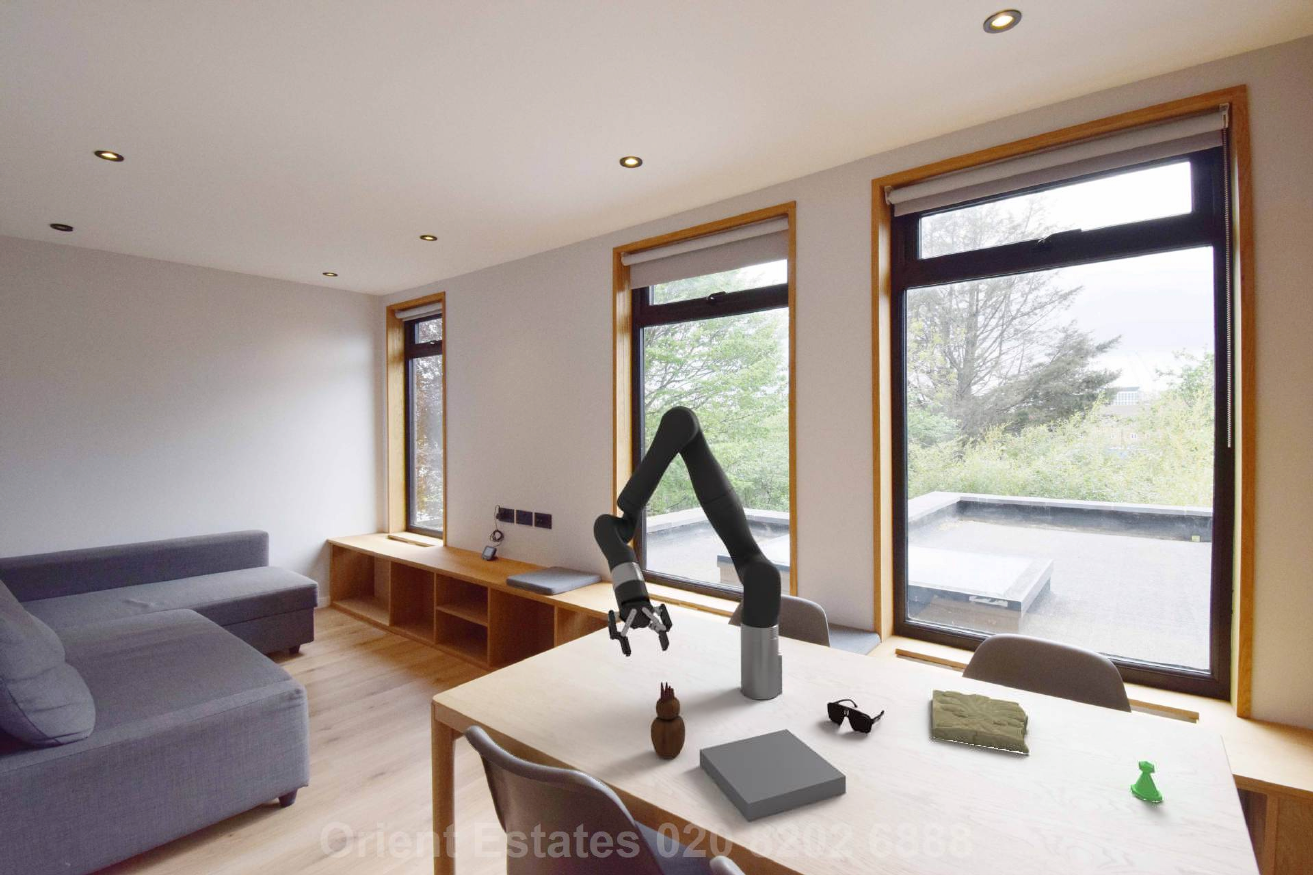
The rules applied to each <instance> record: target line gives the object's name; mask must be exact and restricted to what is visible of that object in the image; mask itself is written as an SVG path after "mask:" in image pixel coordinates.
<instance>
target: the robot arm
mask: <svg viewBox="0 0 1313 875" xmlns="http://www.w3.org/2000/svg"><path fill="white" fill-rule="evenodd" d="M677 455H680V456H681V458H682V460H683V462H684V465H685V467H686V470H687V473H688V476H689V479H690V482H691V485H692V489H693V491H694V494H695V497H696V498H697V501H698V503H699V505H700V507H701V508H702V511H703V513H704V515H705V516H706V518H707V520H708V521H709V524H710V525H711V527H712V528H713V530H714V531H715V533H716V534H717V536H718V537H719V538H720V540H721V541H722V543H723V545H724V547H725V548H726V550H727V552H728V554H729V556H730V559H731V562H732V564H733V566H734V570H735V572H736V575H737V577H738V580H739V583H740V584H741V585H742V586H743V587H742V590H743V591H742V592H743V600H742V602H743V603H742V608H741V611H740V690H741V691H740V692H741V693H742V694H743V695H744V696H746V697H748V698H752V699H754V700H755V699H756V700H771V699H774V698H776V697H777V696H778V695H780V694H782V693H783V655H782V653H780V652H779V650H780V649H779V646H780V645H779V618H780V617H779V616H780V614H781V606H782V576H781V572H780V570H779V568H778V567H777V566H776V565H775V564H774V563H773V562H772V561H771V560H770V559H768V557H767V556H766V555H765V553H763V551H762V549H761V548H760V546H759V545H758V543H757V541H756V540H755V538H754V536H753V535H752V533H751V530H750V527H749V523H748V519H747V517H746V513H745V510H744V507H743V504H742V502H741V500H740V498H739V496H738V494H737V492H736V490H735V488H734V486H733V484H732V482H731V481H730V480H729V478H728V475H727V474H726V472H725V471H724V469H723V467H722V466H721V464H720V463H719V461H718V459H717V458H716V457H715V455H714V454H713V451H712V450H711V448H710V446H709V444H708V442H707V439H706V437H705V434H704V432H703V429H702V427H701V424H700V421H699V418H698V416H697V414H696V413H695V412H694V411H693V410H692V409H691V408H689V407H687V406H683V405H679V406H674V407H671V408H670V409H668V410H667V411H665V412H664V413H663V415H662V416H661V418H660V421H659V425H658V427H657V430H656V433H655V435H654V437H653V440H652V442H651V444H650V446H649V448H648V450H647V451H646V453H645V455H644V457H643V458H642V460H641V462H640V463H639V464H638V465H637V467H636V469H635V470H634V471H633V473H632V475H631V476H630V477H629V479H628V481H627V482H626V483H625V485H624V486H623V488H622V490H621V491H620V494H619V495H618V497H617V499H616V506H617V507H618V509H619V510H620V511H621V512H623V513H622V516H621V517H620V516H616V515H613V514H610V513H603V514H600V515H599V516H598V517H596V519H595V521H594V522H593V523H594V524H593V528H592V530H593V531H592V532H593V536H594V539H595V542H596V543H597V545H598V547H599V549H600V551H601V553H602V555H603V556H604V557H605V559H606V560H607V564H608V568H609V573H610V578H611V579H610V580H611V584H612V589H613V590H612V591H613V593H614V597H615V600H616V605H617V609H618V611H614V610H613V609H610V610H609V609H608V610H609V611H608V612H607V615H606V622H607V628H608V635H609V639H610V640H612V641H613V640H616V641H618V642H619V644H620V648H621V653H622V654H623V655H625V657H626V658H627V657H630V656H631V654H632V647H631V645H630V641H629V640H630V639H629V637H628V636H627V633H628V631H629V629H632V630H637V629H646V628H648V629H650V630H651V631H654V632H655V633H656V634H658V640H659V643H660V647H661V650H662V652H666V651H667V650H668V649H669V645H670V640H669V637H668V634H667V633H669V632H670V631H671V629H672V627H673V625H674V624H673V622H672V619H671V617H670V614H669V611H668V608H667V606H666V604H665V603H660V605H657V606H654V605H653V604H652V603H651V599H650V595H649V591H648V588H647V585H646V582H645V578H644V576H643V573H642V569H641V567H640V564H639V561H638V559H637V558H638V557H637V555H636V552H635V550H634V548H633V547H632V546H630V545H629V543H631V541H632V540H633V539H634V537H635V534H636V532H637V529H638V525H639V523H640V522H639V521H640V519H641V515H642V513H643V510H644V509H645V508H646V506H647V505H648V503H649V501H650V500H651V498H652V496H653V495H654V493H655V491H656V489H657V488H658V486H659V484H660V482H661V480H662V478H663V476H664V474H666V473H665V472H666V471H667V469H668V468H669V466H670V465H671V463H672V462H673V460H674V459H675V458H676V457H677ZM654 614H656V616H658V617H660V619H659V618H658V617H656V616H655V615H654ZM618 619H620V620H621V622H623V623H624V625H623V628H622V630H621V631H618V628H617V627H618V626H617V621H618ZM660 620H661V621H660Z"/></svg>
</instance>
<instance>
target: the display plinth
mask: <svg viewBox="0 0 1313 875" xmlns="http://www.w3.org/2000/svg"><path fill="white" fill-rule="evenodd" d="M699 766H700V767H701V769H703V770H704V772H705V773H706V774H707V775H708V777H709V778H710V779H711V780H712V782H714V784H715V785H716V786H717V787H718V788H719V789H720V791H721V792H722V793H723V794H724V795H725V796H726V798H727V799H728V800H729V801H730V803H731V804H732V805H734V807H735V808H736V809H737V810H738V811H739V812H740V814H741V815H742V816H743V818H744V819H745V820H746V821H747V822H749V823H750V822H751V821H752V822H753V821H756V820H760V819H762V818H766V817H770V816H772V815H775V814H776V815H777V814H778V813H783V812H785V811H786V812H787V811H790V810H792V809H793V810H794V809H796V808H799V807H803V806H806V805H810V804H814V803H816V802H819V801H820V802H821V801H822V800H826V799H830V798H833V797H836V796H841V795H843V794H846V793H847V785H846V784H847V782H846V780H847V779H846V777H847V776H846V775H845V774H844V773H843V772H842V771H841V770H839V769H838V768H837V767H835V766H834V765H833V764H831V763H830V762H829V761H828V760H827V759H825V758H824V757H823V756H821V755H820V754H819V753H817V752H816V751H815V750H814V749H812V748H811V747H810V746H808V744H806V743H805V742H803V741H802V740H801V739H800V738H799V737H797V736H796V735H795V734H794V733H792V732H791V731H790V730H788V729H787V728H785V729H781V730H778V731H773V732H768V733H765V734H764V733H763V734H760V735H757V736H752V737H748V738H743V739H739V740H735V741H731V742H726V743H722V744H718V745H714V746H710V747H709V746H708V747H704V748H701V749H699Z"/></svg>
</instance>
